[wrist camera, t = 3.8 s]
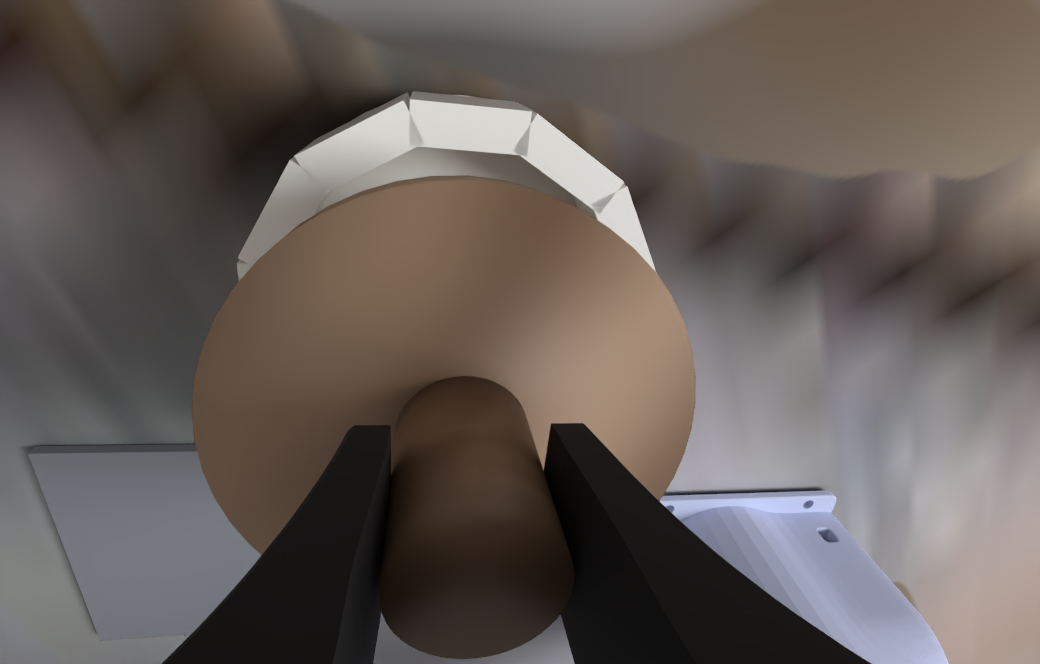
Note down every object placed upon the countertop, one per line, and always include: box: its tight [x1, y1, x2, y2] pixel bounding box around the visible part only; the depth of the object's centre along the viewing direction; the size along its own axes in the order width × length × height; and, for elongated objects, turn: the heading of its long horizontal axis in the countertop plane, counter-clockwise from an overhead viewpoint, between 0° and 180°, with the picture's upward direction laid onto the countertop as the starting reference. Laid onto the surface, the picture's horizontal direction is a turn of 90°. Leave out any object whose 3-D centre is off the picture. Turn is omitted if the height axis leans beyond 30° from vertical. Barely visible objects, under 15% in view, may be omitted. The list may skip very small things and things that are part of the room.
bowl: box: [236, 91, 656, 281], centre depth 16 cm, size 11×11×4 cm
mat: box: [28, 444, 385, 641], centre depth 22 cm, size 14×10×1 cm
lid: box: [192, 175, 696, 659], centre depth 10 cm, size 10×10×5 cm
